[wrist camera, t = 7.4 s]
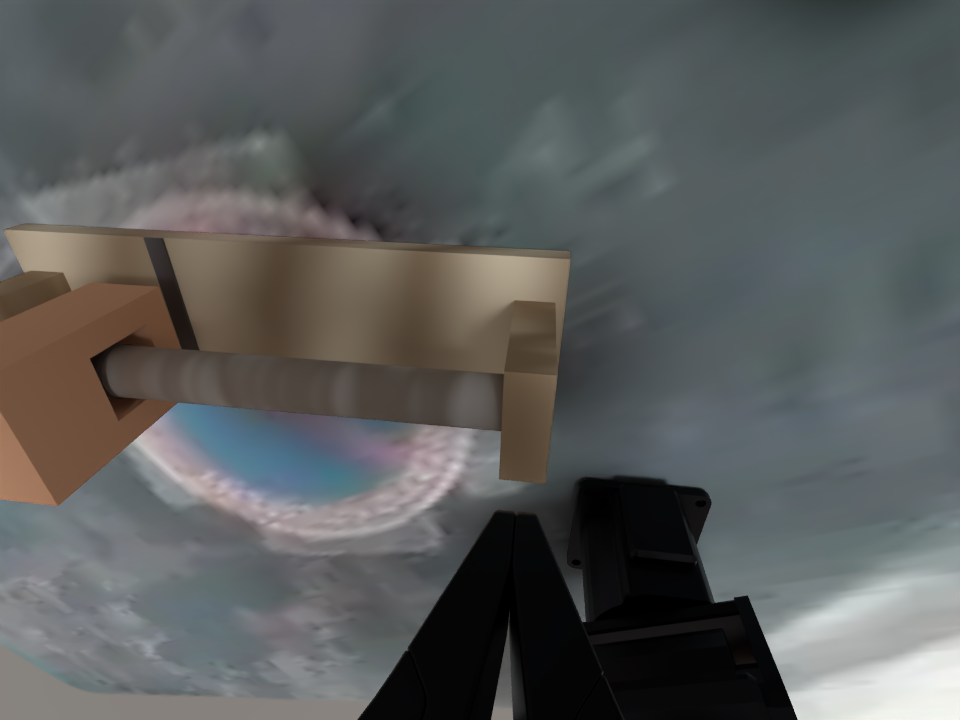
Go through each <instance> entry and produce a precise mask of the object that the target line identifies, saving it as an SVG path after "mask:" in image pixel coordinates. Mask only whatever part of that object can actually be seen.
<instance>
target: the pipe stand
mask: <svg viewBox="0 0 960 720" xmlns="http://www.w3.org/2000/svg"><path fill="white" fill-rule="evenodd" d="M4 233H5V235H6V237H7V239H8V241H9V243H10V245H11V247H12V249H13V251H14V253H15V255H16V257H17V259H18V261H19V263H20V265H21V267H22V269H23V271H24V273H23V274H20V275H17V276H14V277H12V278H9V279H6V280H3V281H1V282H0V322H2V321H4V320H6V319H9V318H11V317H13V316H15V315H18V314H20V313H22V312H25V311H27V310H29V309H31V308H34V307H36V306H38V305H41V304H43V303H45V302H47V301H50V300H52V299H54V298H57V297H59V296H61V295H63V294H66V293H68V292H70V291H73V290H75V289H77V288H79V287H82V286H84V285H86V284H89V283H107V284H122V285H138V286H154V287H159V289H160V291H161V294H162V297H163V300H164V303H165V306H166V309H167V312H168V315H169V317H170V320H171V323H172V326H173V329H174V332H175V335H176V338H177V340H178V343H179V346H180V349H172V348H159V347H146V346H134V345H131V344H125V343H115V344H113V345H112V346H110V347H108V348H107V349H105V350H103V351H102V352H100V353H98V354H97V355H95V356H93V357H92V358H90V360H91V363H92V365H93V367H94V369H95V371H96V373H97V376H98V378H99V380H100V382H101V384H102V386H103V389H104V391H105V393H106V395H107V397H109V398H135V399H147V400H158V401H169V402H180V403H192V404H203V405H214V406H225V407H236V408H248V409H259V410H270V411H281V412H293V413H304V414H315V415H326V416H337V417H349V418H360V419H371V420H382V421H394V422H405V423H416V424H427V425H438V426H450V427H461V428H472V429H483V430H495V431H501V450H500V472H499V479H503V480H513V481H523V482H533V483H543V484H545V483H546V474H547V465H548V456H549V447H550V438H551V430H552V421H553V412H554V403H555V394H556V385H557V376H558V366H559V357H560V348H561V339H562V331H563V322H564V313H565V304H566V295H567V286H568V277H569V268H570V251H556V250H536V249H517V248H497V247H477V246H457V245H437V244H417V243H398V242H378V241H358V240H338V239H318V238H299V237H279V236H259V235H239V234H219V233H199V232H180V231H160V230H140V229H120V228H100V227H80V226H61V225H41V224H22V225H18V226H15V227H11V228H7V229H4Z"/></svg>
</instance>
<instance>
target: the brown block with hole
mask: <svg viewBox="0 0 960 720" xmlns="http://www.w3.org/2000/svg"><path fill="white" fill-rule="evenodd" d="M115 343H125V344H131V345H134V346H146V347H159V348H172V349H180V346H179V343H178V340H177V338H176V335H175V332H174V329H173V326H172V323H171V320H170V317H169V315H168V312H167V309H166V306H165V303H164V300H163V297H162V294H161V291H160V289H159V287H154V286H138V285H122V284H107V283H89V284H86V285H84V286H82V287H79V288H77V289H75V290H73V291H70V292H68V293H66V294H63V295H61V296H59V297H57V298H54V299H52V300H50V301H47V302H45V303H43V304H41V305H38V306H36V307H34V308H31V309H29V310H27V311H25V312H22V313H20V314H18V315H15V316H13V317H11V318H9V319H6V320H4V321H2V322H0V499H2V500H10V501H19V502H28V503H36V504H45V505H54V506H58V505H60V504H61V503H62V502H63V501H64V500H65V499H67V498H68V497H69V496H70V495H71V494H72V493H74V492H75V491H76V490H77V489H78V488H79V487H81V486H82V485H83V484H84V483H85V482H86V481H87V480H89V479H90V478H91V477H92V476H93V475H94V474H96V473H97V472H98V471H99V470H100V469H101V468H103V467H104V466H105V465H106V464H107V463H108V462H109V461H111V460H112V459H113V458H114V457H115V456H116V455H118V454H119V453H120V452H121V451H122V450H123V449H125V448H126V447H127V446H128V445H129V444H130V443H131V442H133V441H134V440H135V439H136V438H137V437H138V436H140V435H141V434H142V433H143V432H144V431H145V430H147V429H148V428H149V427H150V426H151V425H152V424H154V423H155V422H156V421H157V420H158V419H159V418H160V417H162V416H163V415H164V414H165V413H166V412H167V411H169V410H170V409H171V408H172V407H173V406H174V405H176V404H177V403H178V402H169V401H158V400H147V399H135V398H109V397H107V395H106V393H105V391H104V389H103V386H102V384H101V382H100V380H99V378H98V376H97V373H96V371H95V369H94V367H93V365H92V363H91V360H90V358H92V357H93V356H95V355H97V354H98V353H100V352H102V351H103V350H105V349H107V348H108V347H110V346H112V345H113V344H115Z"/></svg>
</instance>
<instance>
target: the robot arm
mask: <svg viewBox="0 0 960 720" xmlns="http://www.w3.org/2000/svg"><path fill="white" fill-rule="evenodd" d="M585 489H591V490H585ZM698 500H701V501H698ZM710 507H711V499H710V497H709V495H708V493H707V492H705V491H702V490H692V489H682V488H672V487H661V486H651V485H641V484H631V483H620V482H610V481H600V480H590V479H589V480H583V481H581V482H580V483H579V485H578V491H577V497H576V503H575V509H574V516H573V522H572V528H571V534H570V540H569V547H568V553H567V563H568V565H569V566H571V567H573V568H579V569H582V573H583V587H584V602H585V616H586V622H582V621H581V618H580V616H579V613H578V611H577V609H576V606H575V604H574V602H573V599H572V597H571V595H570V592H569V590H568V587H567V585H566V583H565V580H564V578H563V576H562V573H561V571H560V569H559V566H558V564H557V562H556V559H555V557H554V554H553V552H552V550H551V547H550V545H549V543H548V540H547V538H546V536H545V533H544V531H543V528H542V526H541V524H540V521H539V519H538V517H537V515H536V514H534V513H524V512H518V513H517V514H516V518H515V513H514V512H512V511H503V510H497V511H495V512H494V513H493V515H492V516H491V518H490V519H489V521H488V523H487V524H486V526H485V527H484V529H483V530H482V532H481V534H480V535H479V537H478V538H477V540H476V541H475V543H474V545H473V546H472V548H471V549H470V551H469V552H468V554H467V555H466V557H465V559H464V560H463V562H462V563H461V565H460V566H459V568H458V570H457V571H456V573H455V574H454V576H453V577H452V579H451V581H450V582H449V584H448V585H447V587H446V588H445V590H444V591H443V593H442V595H441V596H440V598H439V599H438V601H437V602H436V604H435V606H434V607H433V609H432V610H431V612H430V613H429V615H428V617H427V618H426V620H425V621H424V623H423V624H422V626H421V628H420V629H419V631H418V632H417V634H416V635H415V637H414V638H413V640H412V642H411V643H410V645H409V646H408V651H405V652H404V654H403V655H402V657H401V658H400V660H399V662H398V663H397V665H396V666H395V668H394V669H393V671H392V672H391V674H390V675H389V677H388V678H387V680H386V681H385V683H384V684H383V686H382V687H381V688H380V690H379V691H378V693H377V694H376V696H375V697H374V699H373V700H372V701H371V702H370V704H369V705H368V706H367V708H366V709H365V710H364V712H363V713H362V714H361V716H360V717H359V718H358V720H491V716H492V711H493V706H494V700H495V695H496V690H497V684H498V679H499V674H500V668H501V663H502V658H503V652H504V647H505V642H506V636H507V630H508V623H509V636H510V659H511V681H512V702H513V720H798V719H797V717H796V714H795V712H794V709H793V706H792V704H791V701H790V699H789V696H788V694H787V691H786V689H785V686H784V684H783V681H782V679H781V676H780V674H779V671H778V669H777V666H776V664H775V661H774V659H773V657H772V654H771V652H770V649H769V647H768V644H767V642H766V639H765V637H764V634H763V632H762V630H761V627H760V625H759V622H758V620H757V617H756V615H755V612H754V610H753V608H752V605H751V603H750V600H749V598H748V596H741V597H734V600H731V601H724V602H717V603H715V602H714V599H713V596H712V592H711V589H710V586H709V583H708V580H707V577H706V574H705V570H704V567H703V564H702V561H701V558H700V555H699V552H698V549H697V543H698V540H699V537H700V534H701V532H702V529H703V526H704V523H705V520H706V518H707V515H708V512H709V509H710ZM509 612H510V620H509Z"/></svg>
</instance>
